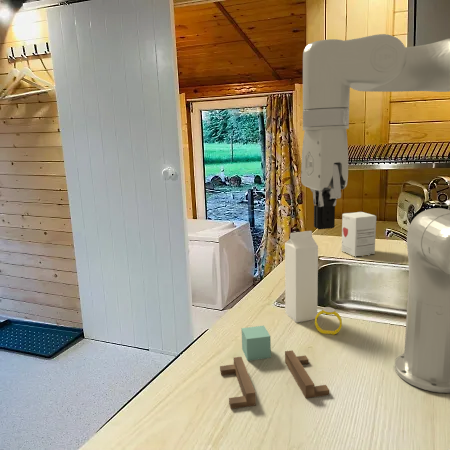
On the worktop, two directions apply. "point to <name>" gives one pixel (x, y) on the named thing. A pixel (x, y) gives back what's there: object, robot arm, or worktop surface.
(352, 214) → the supplement box
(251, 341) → the block
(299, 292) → the milk
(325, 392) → the wooden brackets
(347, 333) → the worktop surface
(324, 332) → the watch
